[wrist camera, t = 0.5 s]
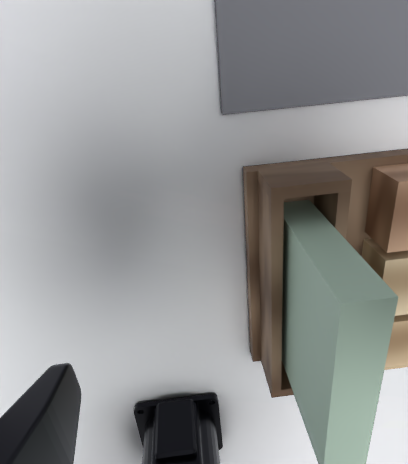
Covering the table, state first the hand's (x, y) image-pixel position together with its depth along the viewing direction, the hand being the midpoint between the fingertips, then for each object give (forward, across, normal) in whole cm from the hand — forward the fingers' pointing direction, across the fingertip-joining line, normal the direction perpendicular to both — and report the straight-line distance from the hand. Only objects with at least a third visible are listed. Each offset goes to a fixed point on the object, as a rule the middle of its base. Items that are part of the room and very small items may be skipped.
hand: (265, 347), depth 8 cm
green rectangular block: (+12, -4, +7) cm, 15 cm away
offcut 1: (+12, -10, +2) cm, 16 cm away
